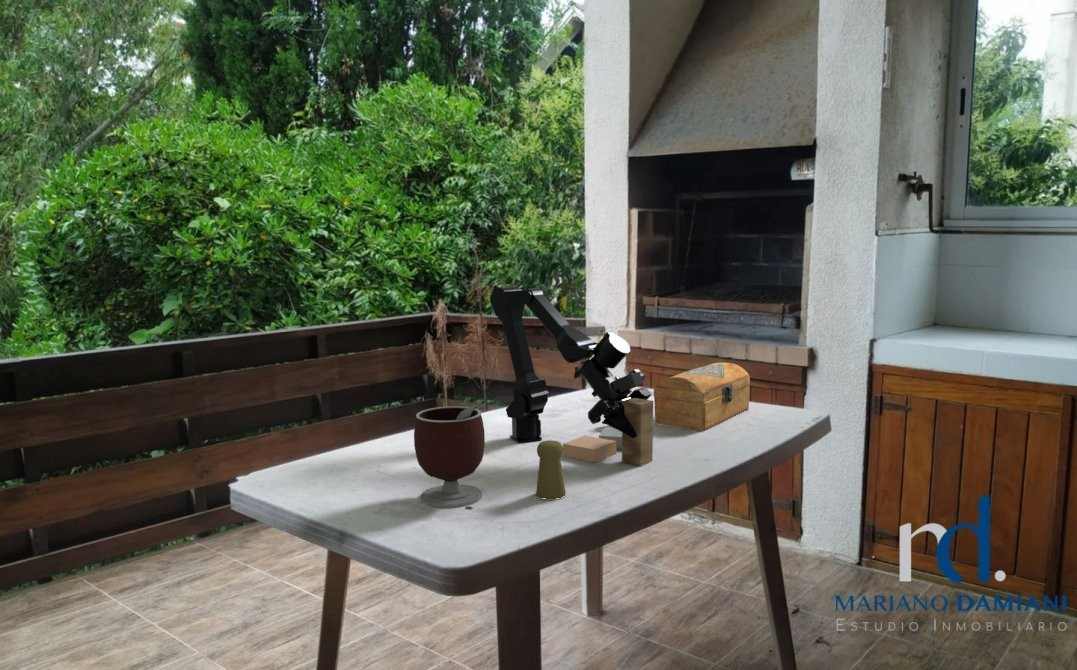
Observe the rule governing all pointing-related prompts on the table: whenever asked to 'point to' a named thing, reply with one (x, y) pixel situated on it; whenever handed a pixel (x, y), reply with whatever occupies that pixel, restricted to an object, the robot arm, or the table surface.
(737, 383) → the wooden box
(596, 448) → the terracotta slab
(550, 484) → the olive green game pawn
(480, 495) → the mate gourd
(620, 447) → the stone slab
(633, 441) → the walnut pillar
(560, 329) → the robot arm
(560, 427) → the table surface
